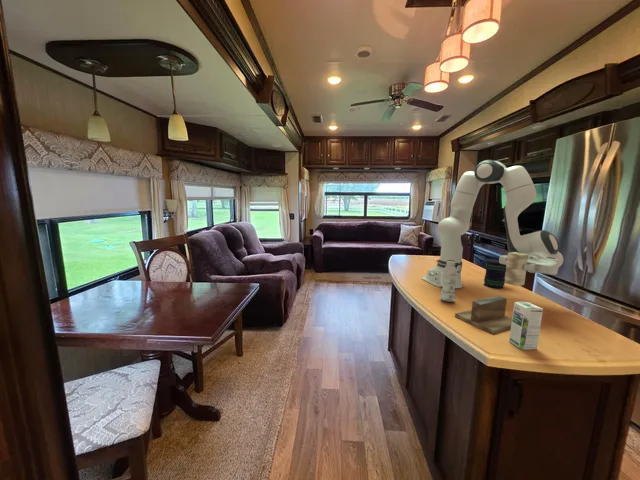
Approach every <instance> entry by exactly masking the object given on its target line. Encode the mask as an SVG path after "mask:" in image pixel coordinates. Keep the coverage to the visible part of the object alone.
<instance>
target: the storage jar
mask: <svg viewBox="0 0 640 480" xmlns="http://www.w3.org/2000/svg"><path fill="white" fill-rule="evenodd" d="M506 266H507V265H505V264H500V263H499V258H498V259H496V258H487V259H486V263H485V275H484V279H483V282H484V283H483V286H484V287H486V288H489V289H493V290H503V289H504V288H505V284H506V283H504V282H505V274H506Z"/></svg>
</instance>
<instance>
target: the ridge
mask: <svg viewBox="0 0 640 480" xmlns="http://www.w3.org/2000/svg"><path fill="white" fill-rule="evenodd" d="M506 307H507V298H506V297H503V296H501V295H496V296H492V297H487V298H482V299H477V300H473V301H472V305H471V309H469V310H465V311H460V312H456V313H455V314H454V317H455V318H456V319H459V320H461V321H463V322H465V323H467V324H469V325H471V326H474V327H476V328H478V329H480V330H482V331H484V332H487V333H488V334H491V335H495V334H498V333H502V332H505V331H509V330H511V324H512V317H510V316H508V315H506Z"/></svg>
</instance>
